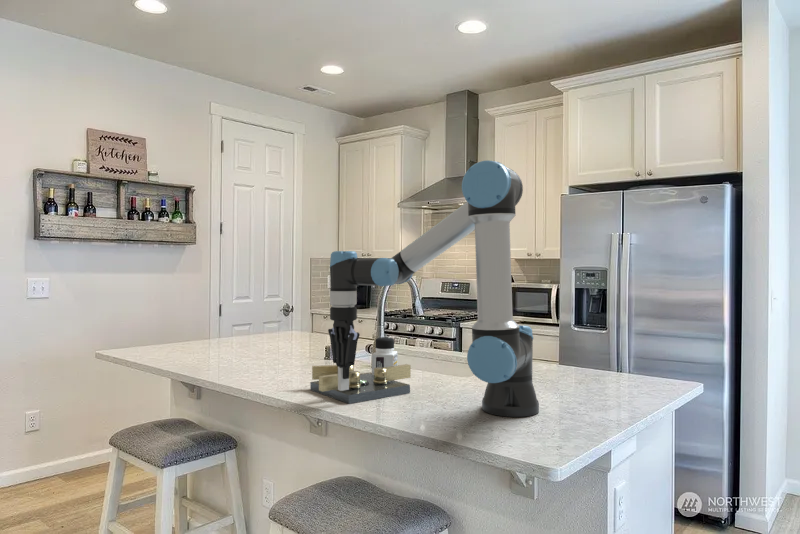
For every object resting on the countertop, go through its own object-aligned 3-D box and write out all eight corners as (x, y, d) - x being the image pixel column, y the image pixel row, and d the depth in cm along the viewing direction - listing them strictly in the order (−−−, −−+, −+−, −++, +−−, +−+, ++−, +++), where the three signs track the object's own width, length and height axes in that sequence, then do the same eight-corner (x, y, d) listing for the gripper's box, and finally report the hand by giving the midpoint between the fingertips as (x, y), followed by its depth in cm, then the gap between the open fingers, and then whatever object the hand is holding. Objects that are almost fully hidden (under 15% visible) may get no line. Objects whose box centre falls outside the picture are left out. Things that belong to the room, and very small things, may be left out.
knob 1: (355, 384, 176) (355, 370, 176) (363, 387, 173) (363, 372, 172) (316, 390, 168) (316, 375, 168) (324, 393, 164) (324, 378, 164)
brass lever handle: (353, 377, 187) (353, 363, 187) (355, 379, 183) (355, 366, 183) (312, 378, 185) (312, 365, 185) (312, 381, 180) (312, 367, 180)
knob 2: (378, 384, 176) (378, 370, 176) (370, 382, 179) (370, 368, 179) (412, 379, 184) (412, 365, 184) (404, 376, 188) (404, 363, 187)
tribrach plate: (410, 393, 177) (410, 382, 177) (348, 403, 164) (348, 392, 164) (368, 381, 195) (368, 371, 195) (310, 390, 181) (310, 379, 181)
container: (393, 376, 202) (393, 339, 201) (371, 376, 203) (371, 338, 203) (397, 372, 209) (397, 336, 209) (376, 371, 211) (376, 335, 210)
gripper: (367, 306, 161) (367, 392, 161) (342, 303, 171) (342, 384, 171) (344, 308, 156) (344, 396, 157) (320, 305, 167) (320, 387, 167)
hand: (343, 389), depth 164 cm, fingers closed
